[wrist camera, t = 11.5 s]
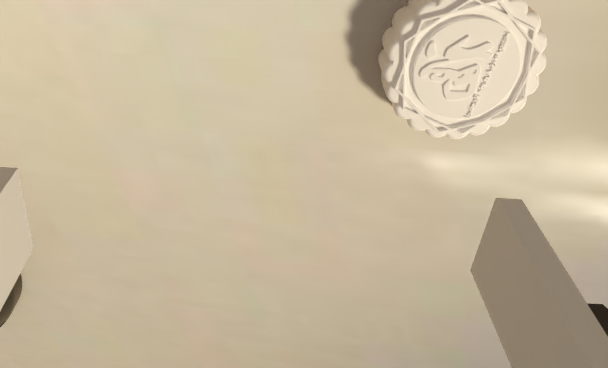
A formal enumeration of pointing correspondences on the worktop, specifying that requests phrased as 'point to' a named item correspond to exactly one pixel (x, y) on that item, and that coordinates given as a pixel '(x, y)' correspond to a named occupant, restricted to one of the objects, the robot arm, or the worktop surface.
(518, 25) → the mooncake
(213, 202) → the worktop surface
